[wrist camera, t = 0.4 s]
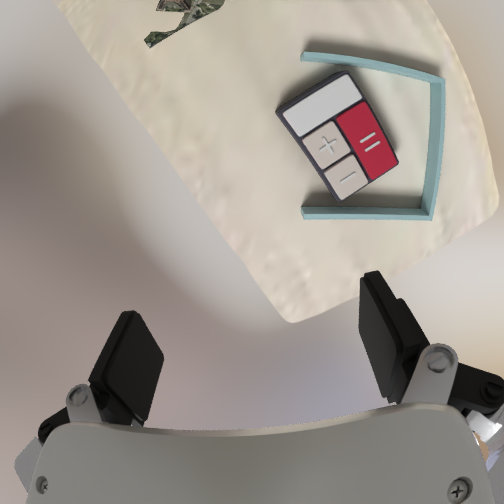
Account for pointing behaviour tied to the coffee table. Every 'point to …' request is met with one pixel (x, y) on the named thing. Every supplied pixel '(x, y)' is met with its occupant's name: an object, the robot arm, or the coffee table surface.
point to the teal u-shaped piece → (433, 149)
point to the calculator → (339, 134)
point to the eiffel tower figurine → (195, 7)
